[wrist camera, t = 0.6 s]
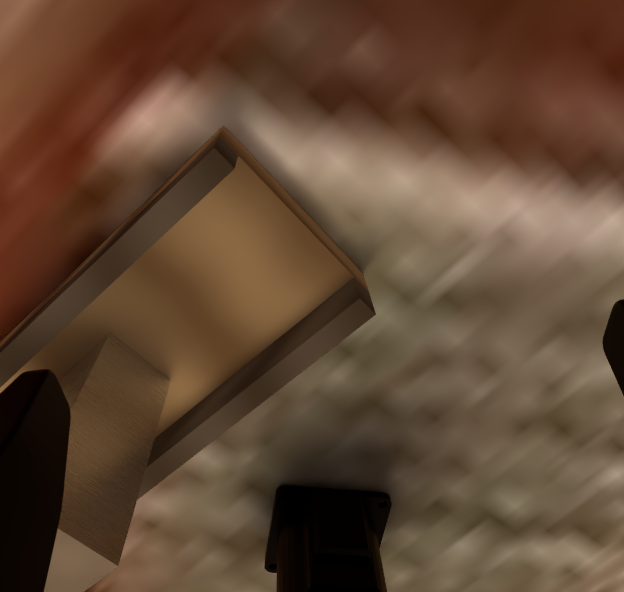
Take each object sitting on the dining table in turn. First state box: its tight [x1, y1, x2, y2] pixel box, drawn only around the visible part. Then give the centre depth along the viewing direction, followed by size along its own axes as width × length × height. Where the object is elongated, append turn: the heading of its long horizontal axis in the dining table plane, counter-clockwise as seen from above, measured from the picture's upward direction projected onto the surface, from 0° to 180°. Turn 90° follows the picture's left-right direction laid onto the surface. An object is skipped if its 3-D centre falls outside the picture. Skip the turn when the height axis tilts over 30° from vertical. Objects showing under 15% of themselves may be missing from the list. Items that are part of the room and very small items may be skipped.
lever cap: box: [44, 332, 171, 592], centre depth 23 cm, size 4×5×10 cm
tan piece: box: [0, 126, 376, 500], centre depth 27 cm, size 24×9×4 cm, turn 131°
